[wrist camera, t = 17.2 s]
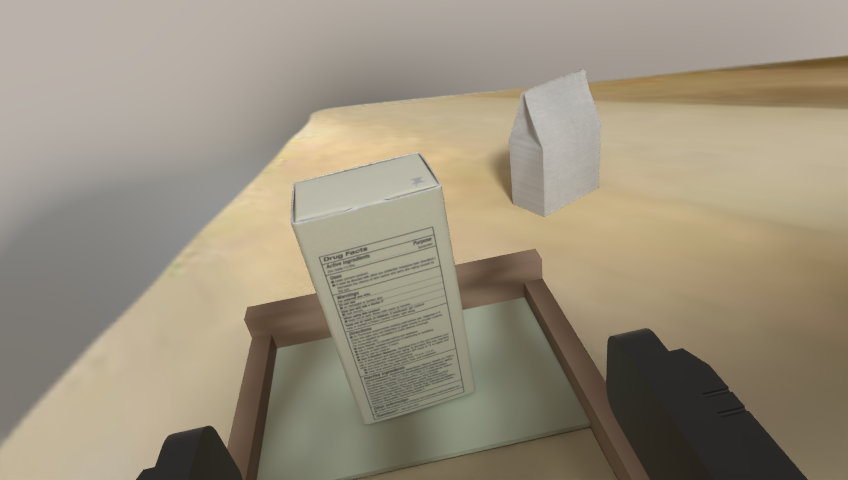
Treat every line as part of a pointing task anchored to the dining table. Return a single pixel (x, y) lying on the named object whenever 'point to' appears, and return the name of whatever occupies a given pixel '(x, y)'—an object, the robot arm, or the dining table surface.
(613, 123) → the dining table surface
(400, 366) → the skincare box
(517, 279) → the frame
